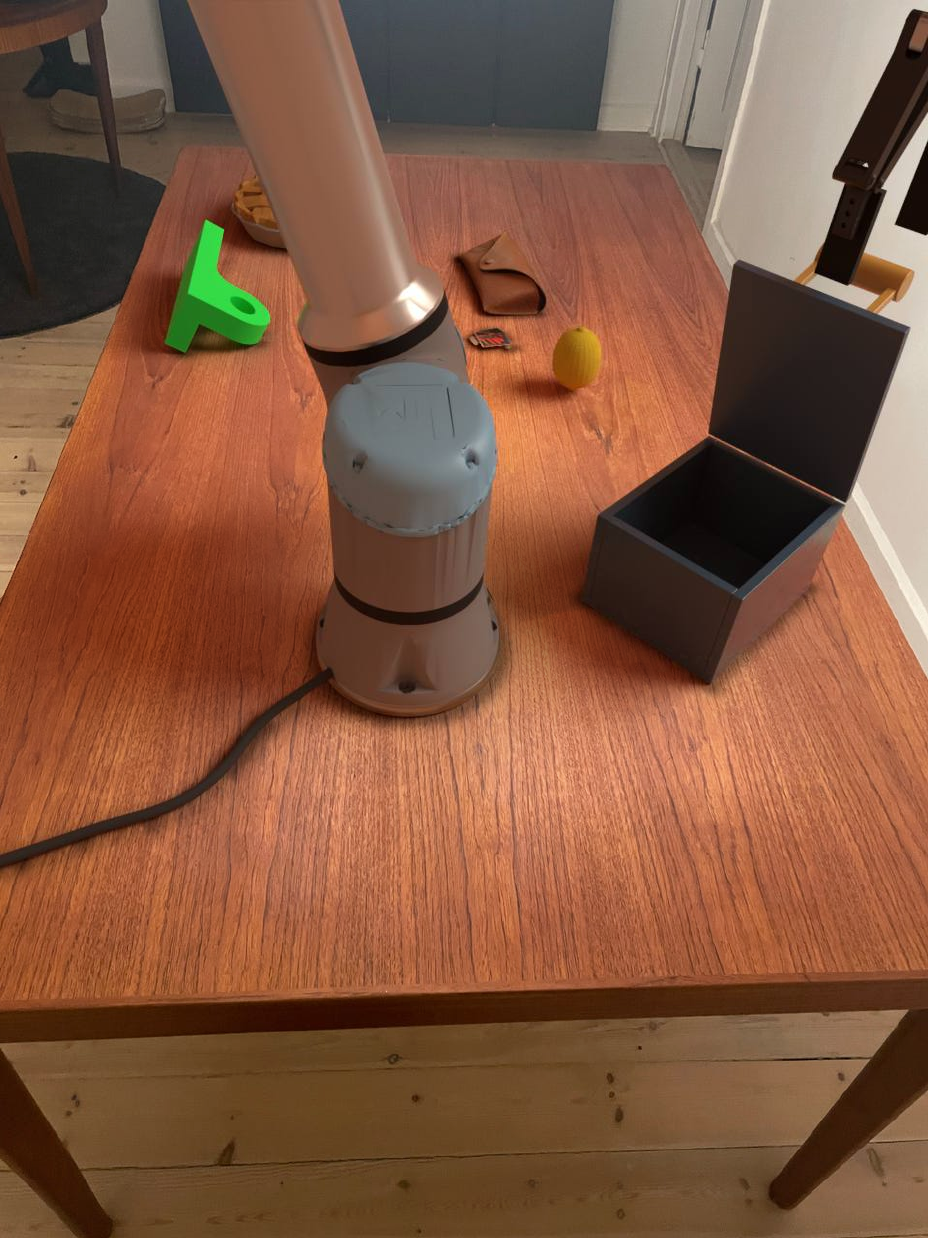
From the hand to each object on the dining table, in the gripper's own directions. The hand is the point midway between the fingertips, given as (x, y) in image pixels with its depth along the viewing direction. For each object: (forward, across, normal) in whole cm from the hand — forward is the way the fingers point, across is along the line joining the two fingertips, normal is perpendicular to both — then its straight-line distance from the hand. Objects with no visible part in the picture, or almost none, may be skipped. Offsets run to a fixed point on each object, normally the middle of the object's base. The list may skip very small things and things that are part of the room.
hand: (874, 252), depth 70 cm
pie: (+26, +11, +84) cm, 89 cm away
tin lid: (+9, -7, 0) cm, 12 cm away
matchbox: (+28, +6, +43) cm, 52 cm away
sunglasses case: (+28, +19, +53) cm, 63 cm away
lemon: (+28, +6, +29) cm, 41 cm away
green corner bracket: (+27, -25, +66) cm, 76 cm away
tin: (+28, -13, 0) cm, 31 cm away
